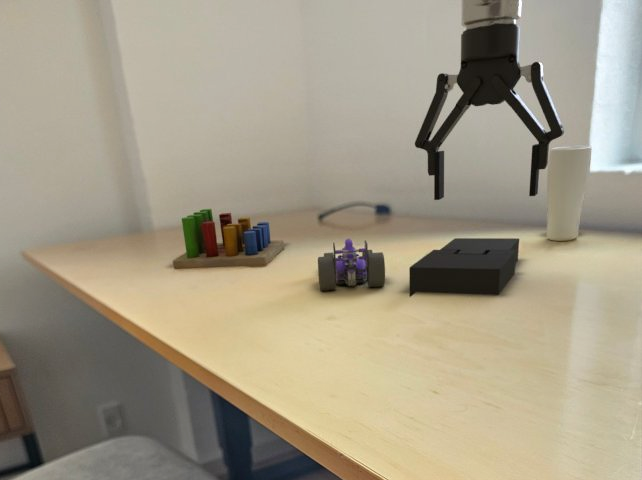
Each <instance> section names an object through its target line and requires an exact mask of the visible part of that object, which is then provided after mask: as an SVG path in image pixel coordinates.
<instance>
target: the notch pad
mask: <svg viewBox="0 0 642 480" xmlns="http://www.w3.org/2000/svg"><path fill="white" fill-rule="evenodd" d="M515 261H516V250H490V251H489V252H488V253H487V254H457V250H440V249H433V250H431V251H430V252H427V254H426V255H424V256H423V257H421V258H420V259H419V260H418V261H416V262H415V263H414V264H411V266H409V269H408V271H409V272H408V273H409V274H408V275H409V279H408V280H409V297H412V296H414V295H415V294H416V293H427V294H429V293H431V294H432V293H433V294H456V295H457V294H459V295H482V296H486V295H487V296H500V294H501V293H502V291H503V290H504V289H505V288H506V286H507V285H508V284H509V282H510V281H511V279H512V278H513V277H514V276H515V275H516V274H515V273H516V263H515Z"/></svg>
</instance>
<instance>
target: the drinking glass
mask: <svg viewBox="0 0 642 480" xmlns="http://www.w3.org/2000/svg"><path fill="white" fill-rule="evenodd" d="M592 148H593V147H592V146H590V145H570V146H559V147H558V146H557V147H552V148H549V152H548V164H547V173H546V175H547V177H546V180H547V181H546V192H547V193H546V201H547V202H546V233H545V234H546V235H545V237H546V238H547V239H548V240H550V241H555V242H565V241H566V242H567V241H573V240H576V239H577V238H578V236H579V230H580V229H579V228H580V222H581V217H582V212H583V207H584V202H585V197H586V191H587V186H588V181H589V176H590V170H591V160H592Z"/></svg>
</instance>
